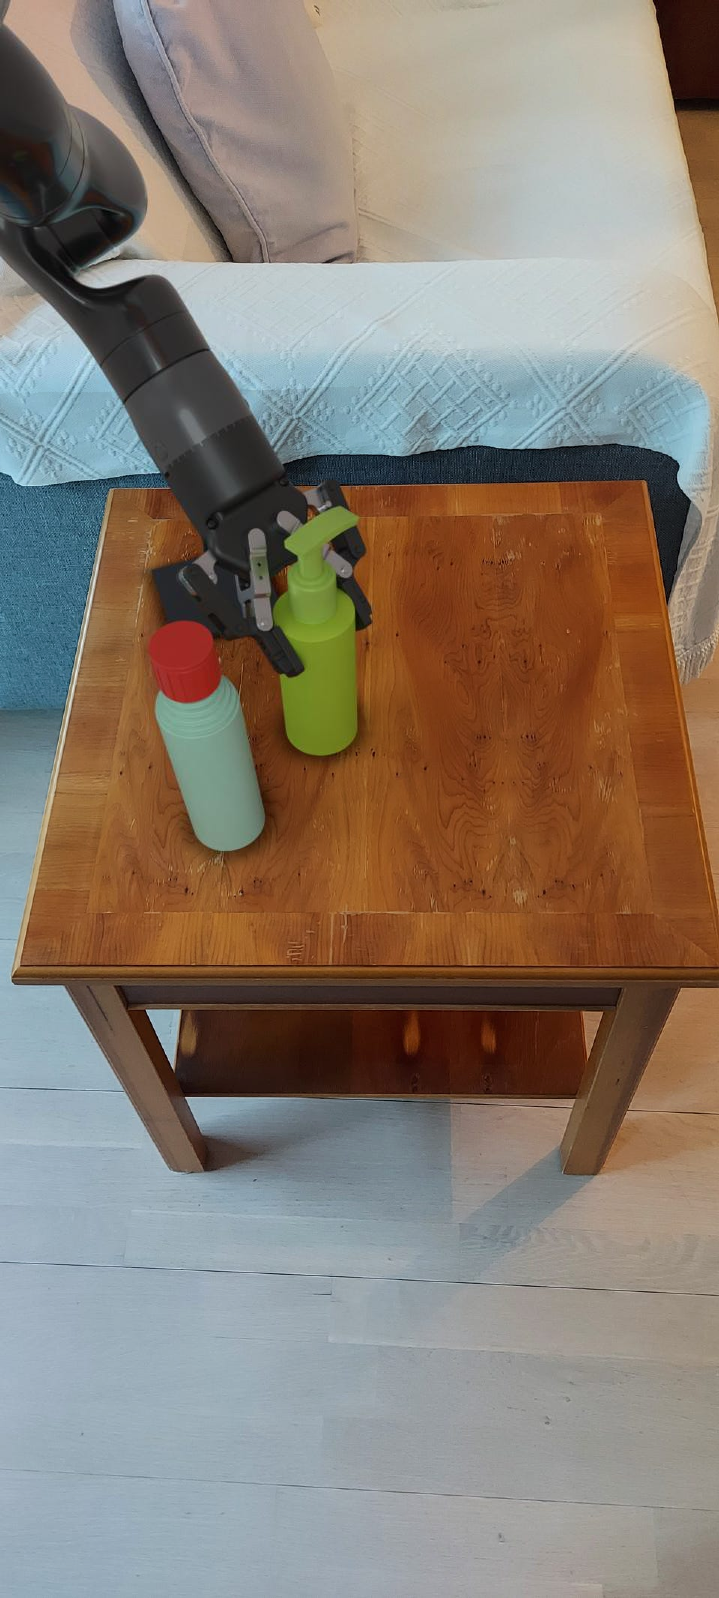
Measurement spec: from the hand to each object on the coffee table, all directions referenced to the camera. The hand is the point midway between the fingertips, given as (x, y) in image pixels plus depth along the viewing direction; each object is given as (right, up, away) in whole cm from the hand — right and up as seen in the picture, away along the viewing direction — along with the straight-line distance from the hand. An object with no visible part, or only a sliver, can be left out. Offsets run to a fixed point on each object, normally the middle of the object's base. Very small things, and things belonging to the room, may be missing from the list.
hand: (330, 650), depth 73 cm
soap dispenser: (-1, -5, +9) cm, 11 cm away
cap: (-9, -3, -9) cm, 13 cm away
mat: (-11, +8, +19) cm, 23 cm away
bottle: (-8, -13, +4) cm, 15 cm away
